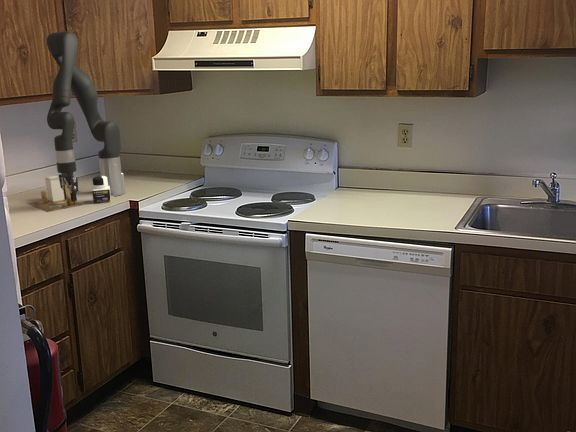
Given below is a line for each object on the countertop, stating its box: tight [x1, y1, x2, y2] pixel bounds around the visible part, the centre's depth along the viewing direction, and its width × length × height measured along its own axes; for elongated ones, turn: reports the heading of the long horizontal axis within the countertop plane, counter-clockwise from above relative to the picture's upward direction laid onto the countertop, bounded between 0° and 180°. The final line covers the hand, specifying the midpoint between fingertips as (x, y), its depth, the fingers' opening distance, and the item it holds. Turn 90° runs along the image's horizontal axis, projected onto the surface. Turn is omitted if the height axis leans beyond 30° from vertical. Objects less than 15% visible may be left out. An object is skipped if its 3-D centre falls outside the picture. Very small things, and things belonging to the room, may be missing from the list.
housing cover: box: [44, 175, 64, 202], centre depth 280 cm, size 5×6×10 cm
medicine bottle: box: [91, 175, 112, 205], centre depth 273 cm, size 7×7×12 cm
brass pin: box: [65, 184, 76, 206], centre depth 268 cm, size 3×3×9 cm
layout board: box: [25, 190, 85, 213], centre depth 272 cm, size 16×24×6 cm, turn 41°
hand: (70, 200), depth 269 cm, fingers open, 6 cm apart
